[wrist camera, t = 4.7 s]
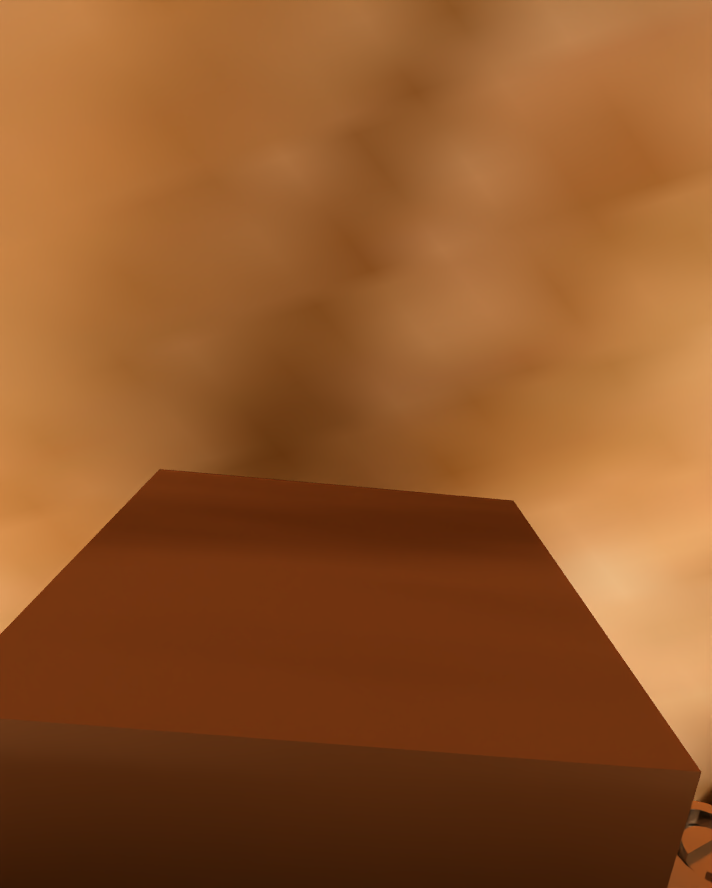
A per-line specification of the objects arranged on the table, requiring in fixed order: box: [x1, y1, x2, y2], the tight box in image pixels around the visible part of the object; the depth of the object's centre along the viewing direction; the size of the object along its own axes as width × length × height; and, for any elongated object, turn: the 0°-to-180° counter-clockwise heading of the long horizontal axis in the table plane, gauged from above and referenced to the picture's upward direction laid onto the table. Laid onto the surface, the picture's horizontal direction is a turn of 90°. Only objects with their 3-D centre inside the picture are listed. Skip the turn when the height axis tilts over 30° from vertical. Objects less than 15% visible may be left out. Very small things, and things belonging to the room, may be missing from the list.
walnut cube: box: [0, 469, 701, 888], centre depth 9 cm, size 6×6×6 cm
